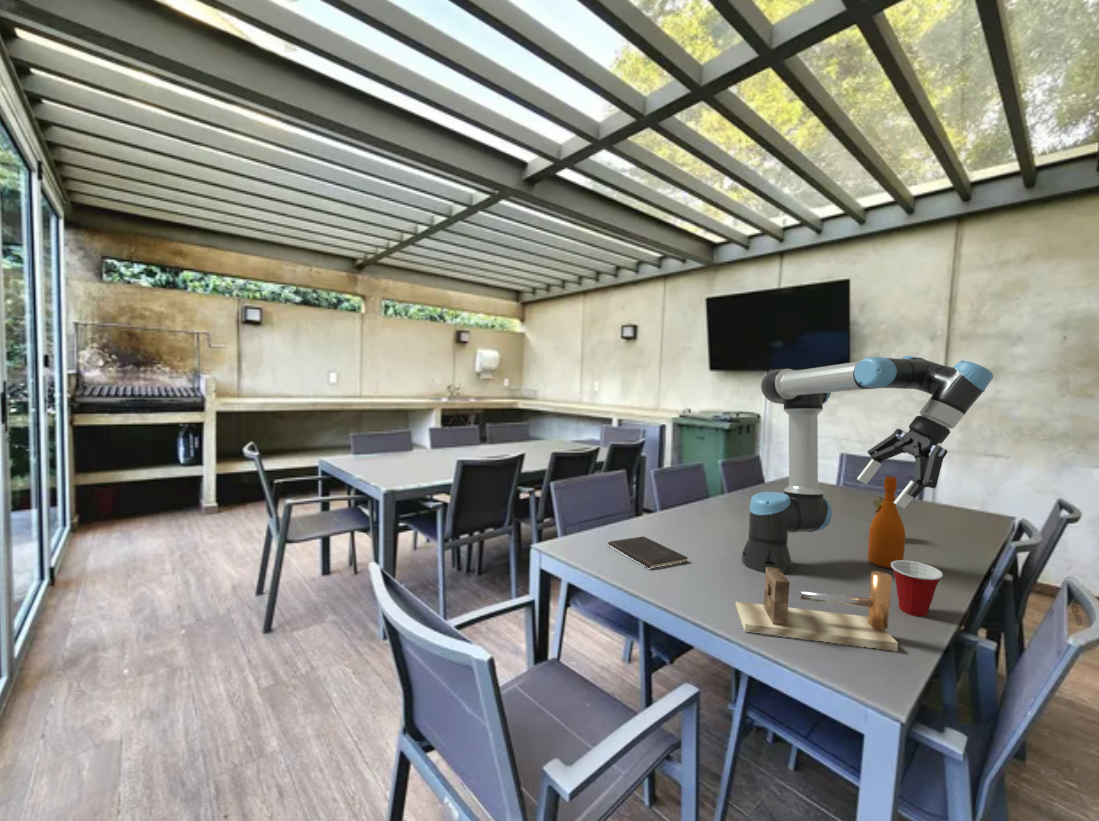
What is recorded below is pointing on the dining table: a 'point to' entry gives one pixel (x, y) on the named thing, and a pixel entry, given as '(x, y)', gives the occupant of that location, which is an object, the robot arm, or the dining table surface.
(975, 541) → the dining table surface
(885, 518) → the wine bottle
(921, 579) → the plastic cup
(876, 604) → the copper cylinder with rod
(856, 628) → the copper canister stand
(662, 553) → the hardcover book
